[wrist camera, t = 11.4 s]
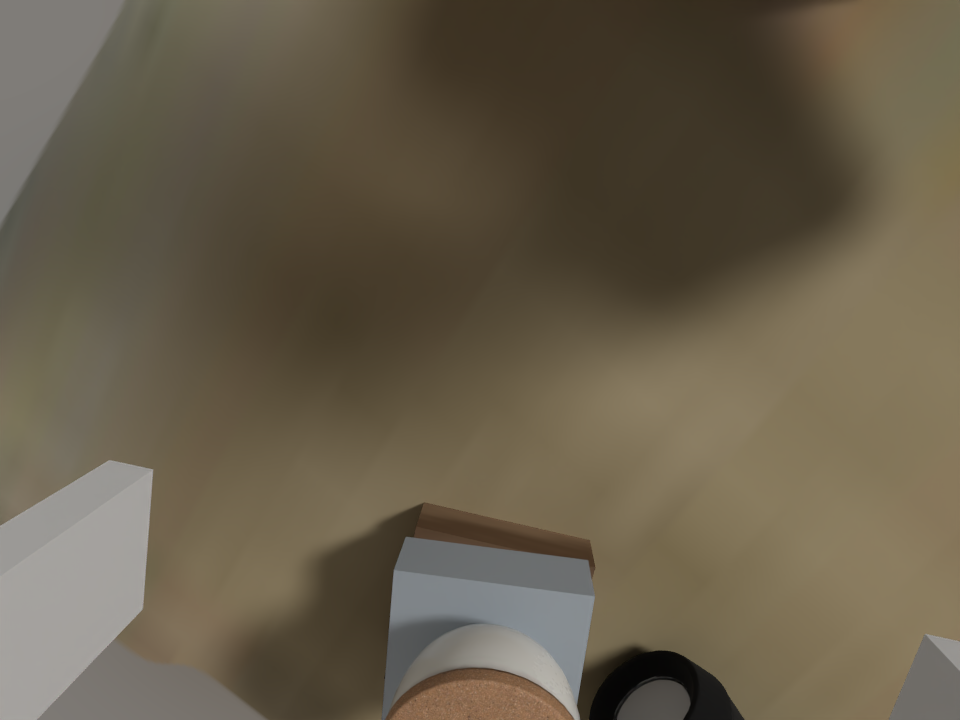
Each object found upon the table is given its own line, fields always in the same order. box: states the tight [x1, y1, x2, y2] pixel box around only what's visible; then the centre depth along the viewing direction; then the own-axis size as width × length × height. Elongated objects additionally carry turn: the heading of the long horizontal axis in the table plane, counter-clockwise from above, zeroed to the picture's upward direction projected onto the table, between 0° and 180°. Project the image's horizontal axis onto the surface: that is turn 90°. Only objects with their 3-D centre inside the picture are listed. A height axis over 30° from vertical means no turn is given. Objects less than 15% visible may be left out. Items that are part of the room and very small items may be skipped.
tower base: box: [384, 503, 595, 679], centre depth 45 cm, size 12×12×4 cm
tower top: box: [382, 537, 595, 720], centre depth 41 cm, size 12×12×4 cm
